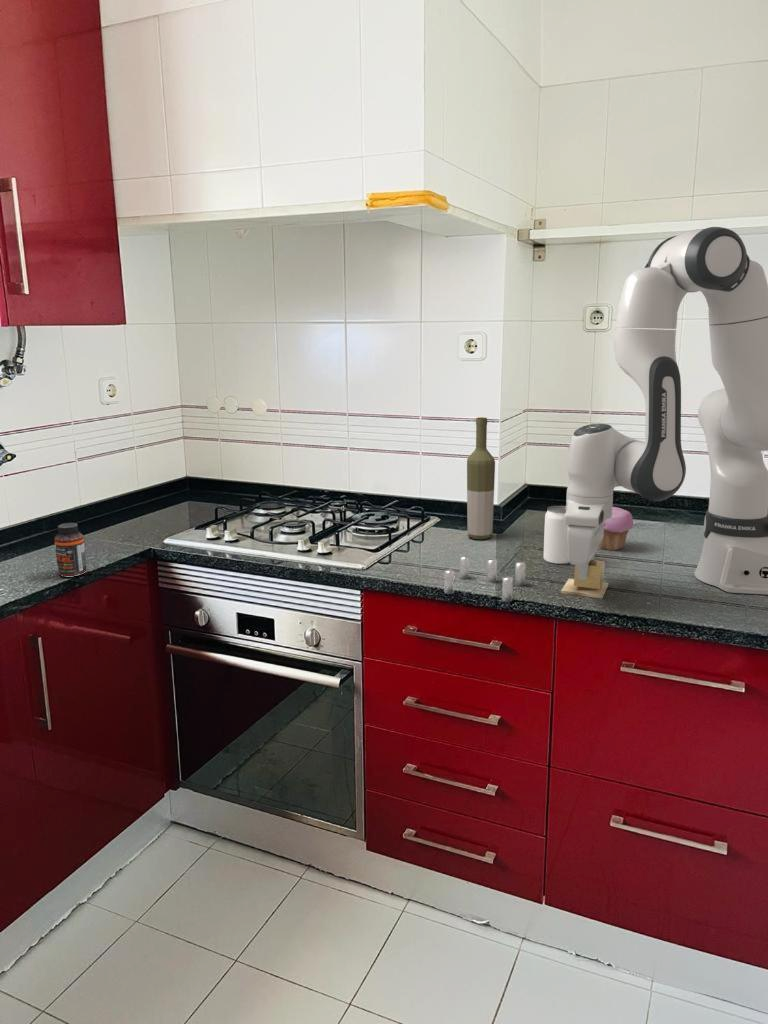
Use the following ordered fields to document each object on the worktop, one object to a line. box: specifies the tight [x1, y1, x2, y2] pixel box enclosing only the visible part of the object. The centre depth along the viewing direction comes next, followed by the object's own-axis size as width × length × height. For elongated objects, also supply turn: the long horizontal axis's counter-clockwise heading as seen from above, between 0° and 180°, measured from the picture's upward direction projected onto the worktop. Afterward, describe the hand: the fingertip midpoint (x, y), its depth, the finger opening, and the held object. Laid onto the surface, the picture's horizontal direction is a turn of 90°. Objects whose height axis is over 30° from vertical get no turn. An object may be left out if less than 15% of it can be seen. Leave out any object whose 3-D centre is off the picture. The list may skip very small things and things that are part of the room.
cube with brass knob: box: [573, 559, 606, 589], centre depth 158 cm, size 5×5×5 cm
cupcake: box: [599, 506, 634, 551], centre depth 185 cm, size 9×9×10 cm
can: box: [543, 505, 570, 565], centre depth 176 cm, size 6×6×12 cm
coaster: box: [560, 577, 609, 599], centre depth 159 cm, size 8×8×1 cm
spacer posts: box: [443, 555, 526, 603], centre depth 160 cm, size 14×12×4 cm
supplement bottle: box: [54, 522, 87, 576], centre depth 172 cm, size 6×6×11 cm
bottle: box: [466, 416, 496, 540], centre depth 194 cm, size 7×7×30 cm
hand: (585, 573), depth 158 cm, fingers closed on cube with brass knob, 5 cm apart
